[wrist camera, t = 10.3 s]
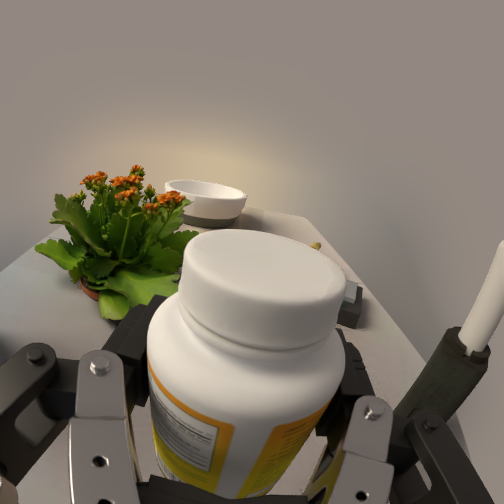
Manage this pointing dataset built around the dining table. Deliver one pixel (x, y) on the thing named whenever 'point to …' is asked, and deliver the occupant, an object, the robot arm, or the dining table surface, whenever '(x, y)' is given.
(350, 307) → the scale
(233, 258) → the supplement bottle
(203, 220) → the bowl
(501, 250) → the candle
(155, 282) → the potted flower
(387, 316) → the dining table surface
